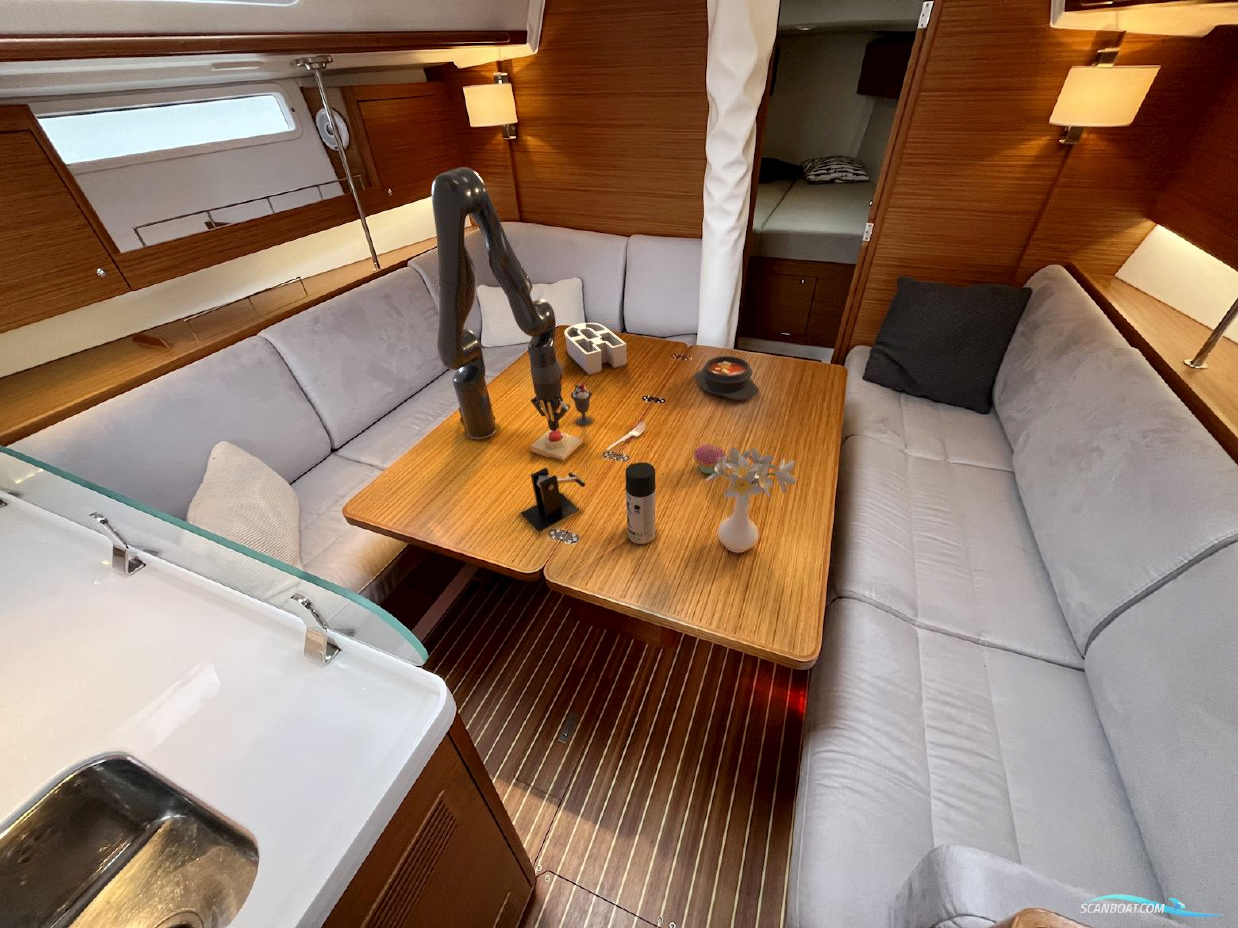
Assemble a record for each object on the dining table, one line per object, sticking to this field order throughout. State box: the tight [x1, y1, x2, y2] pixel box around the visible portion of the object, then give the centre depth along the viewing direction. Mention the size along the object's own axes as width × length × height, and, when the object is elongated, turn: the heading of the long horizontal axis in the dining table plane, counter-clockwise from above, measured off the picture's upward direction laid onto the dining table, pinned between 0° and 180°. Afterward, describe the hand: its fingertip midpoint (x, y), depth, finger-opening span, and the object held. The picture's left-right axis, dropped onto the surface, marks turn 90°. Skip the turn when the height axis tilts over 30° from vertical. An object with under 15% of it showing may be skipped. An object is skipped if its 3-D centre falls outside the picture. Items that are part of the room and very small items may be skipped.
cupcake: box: [693, 434, 726, 475], centre depth 135 cm, size 9×8×12 cm
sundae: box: [570, 381, 593, 427], centre depth 156 cm, size 7×7×15 cm
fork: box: [606, 421, 648, 451], centre depth 150 cm, size 3×20×2 cm, turn 137°
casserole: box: [694, 355, 760, 401], centre depth 171 cm, size 25×19×8 cm
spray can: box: [625, 461, 657, 545], centre depth 114 cm, size 7×7×20 cm
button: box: [549, 429, 562, 442], centre depth 147 cm, size 4×4×2 cm
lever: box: [537, 471, 586, 488], centre depth 124 cm, size 12×6×2 cm, turn 129°
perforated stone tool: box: [556, 357, 564, 380], centre depth 186 cm, size 15×5×7 cm, turn 28°
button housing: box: [529, 429, 583, 461], centre depth 149 cm, size 12×10×4 cm
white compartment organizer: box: [564, 322, 627, 375], centre depth 196 cm, size 17×28×9 cm, turn 27°
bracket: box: [520, 467, 580, 533], centre depth 123 cm, size 12×9×13 cm
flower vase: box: [705, 446, 797, 554], centre depth 109 cm, size 13×18×25 cm
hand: (554, 429), depth 146 cm, fingers closed
